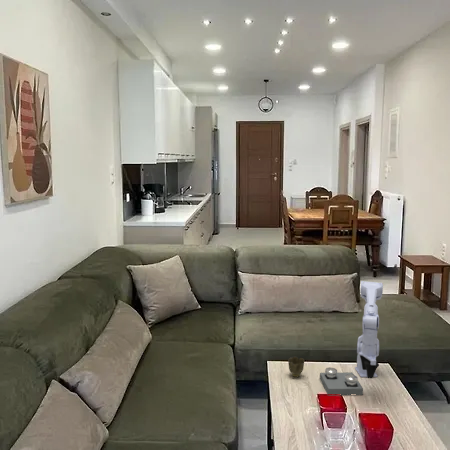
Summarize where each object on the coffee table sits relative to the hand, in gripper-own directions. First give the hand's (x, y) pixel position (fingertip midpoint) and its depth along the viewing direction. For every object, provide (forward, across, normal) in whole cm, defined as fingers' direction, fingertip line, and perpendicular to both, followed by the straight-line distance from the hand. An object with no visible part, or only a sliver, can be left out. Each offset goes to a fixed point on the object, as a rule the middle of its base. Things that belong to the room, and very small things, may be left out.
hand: (367, 373), depth 198 cm
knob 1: (+8, -11, -13) cm, 19 cm away
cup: (+10, -17, -28) cm, 34 cm away
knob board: (+10, -8, -9) cm, 16 cm away
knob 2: (+8, -4, -5) cm, 10 cm away
